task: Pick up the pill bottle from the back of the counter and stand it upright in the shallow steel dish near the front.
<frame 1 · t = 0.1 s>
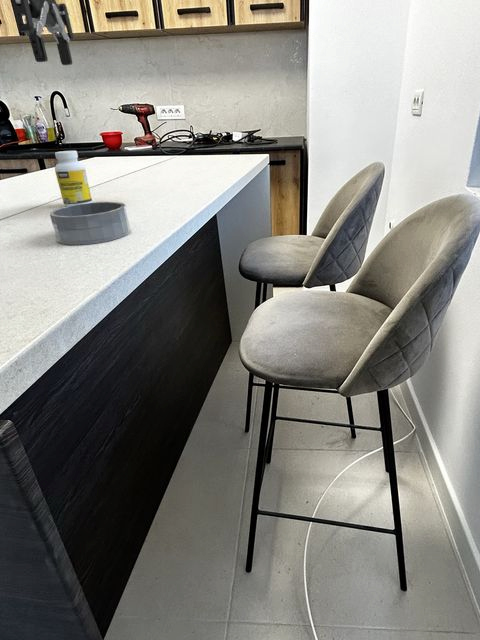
hand: (55, 63, 86), 28 cm above the table, tool pointing down, fingers open, 8 cm apart
dish: (94, 235, 75), on the table
pill bottle: (79, 205, 103), on the table
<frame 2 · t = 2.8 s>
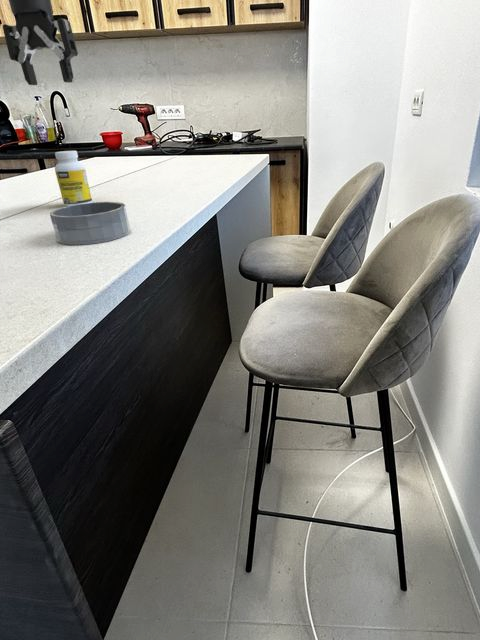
hand: (50, 83, 90), 25 cm above the table, tool pointing down, fingers open, 8 cm apart
nothing on the table moved.
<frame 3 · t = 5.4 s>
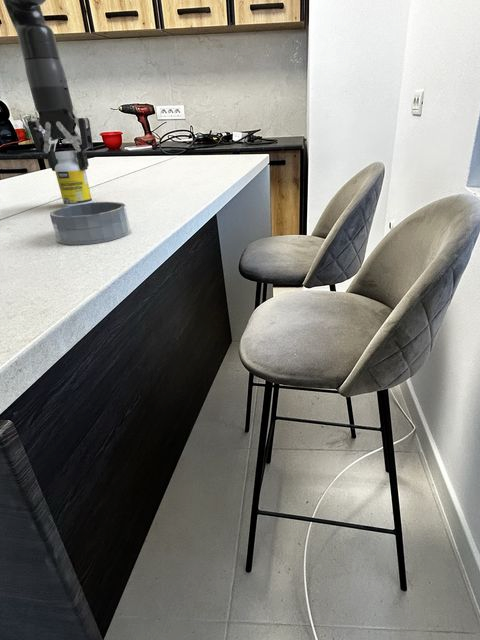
hand: (70, 170, 99), 8 cm above the table, tool pointing down, fingers closed on pill bottle, 6 cm apart
pill bottle: (79, 205, 103), on the table, touching gripper
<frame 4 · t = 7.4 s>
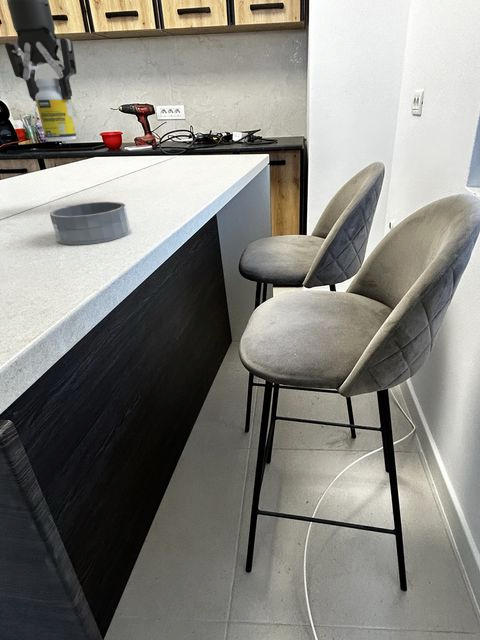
hand: (52, 100, 92), 22 cm above the table, tool pointing down, fingers closed on pill bottle, 6 cm apart
pill bottle: (62, 141, 96), point 14 cm above the table, touching gripper
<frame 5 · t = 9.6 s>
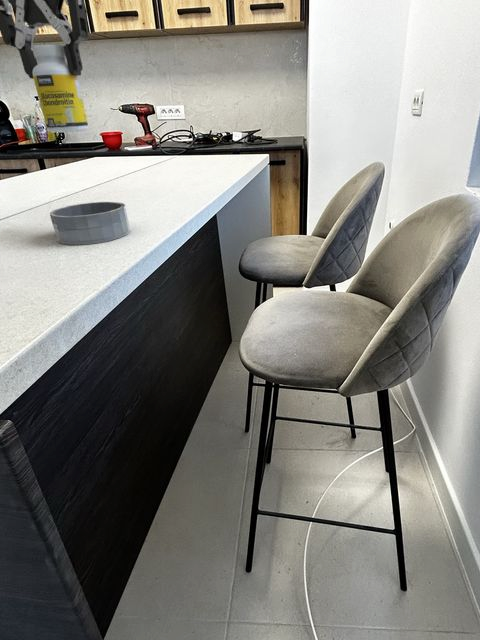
hand: (55, 76, 67), 24 cm above the table, tool pointing down, fingers closed on pill bottle, 6 cm apart
pill bottle: (69, 133, 71), point 16 cm above the table, touching gripper
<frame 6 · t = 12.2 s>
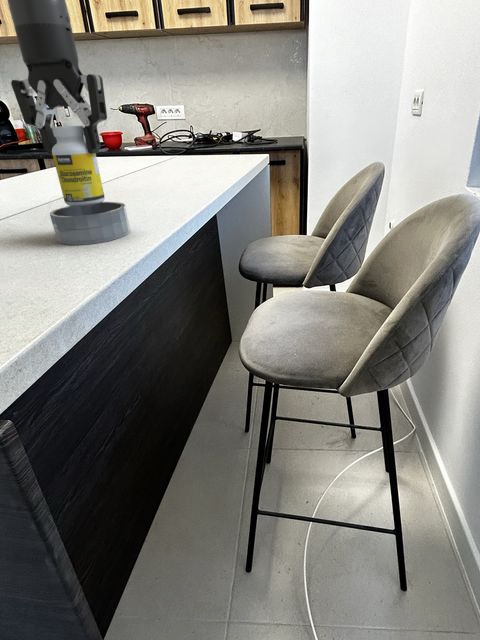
hand: (74, 153, 69), 13 cm above the table, tool pointing down, fingers closed on pill bottle, 6 cm apart
pill bottle: (86, 204, 73), point 5 cm above the table, touching gripper
when the fingers open (8 cm above the table, at t = 14.0 s): pill bottle stays where it is, resting on dish.
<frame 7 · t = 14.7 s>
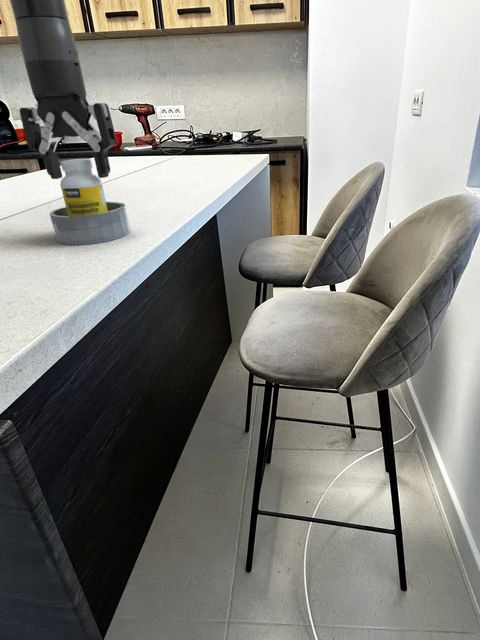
hand: (80, 177, 71), 9 cm above the table, tool pointing down, fingers open, 8 cm apart
pill bottle: (93, 233, 75), resting on dish
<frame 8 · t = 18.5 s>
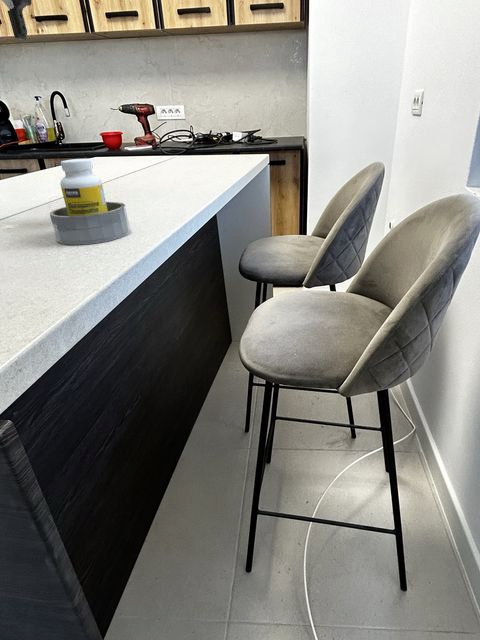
nothing on the table moved.
at the end: pill bottle 0.2 cm off-centre in the dish, point 0.3 cm above the dish's base; pill bottle tilted 0°; the gripper is holding nothing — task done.
